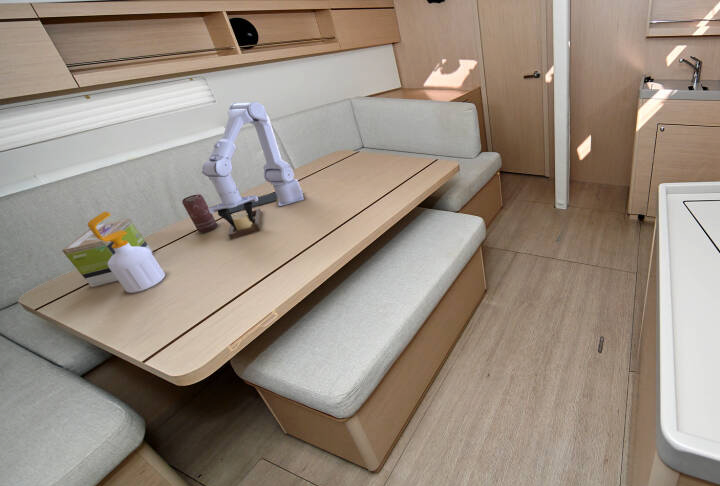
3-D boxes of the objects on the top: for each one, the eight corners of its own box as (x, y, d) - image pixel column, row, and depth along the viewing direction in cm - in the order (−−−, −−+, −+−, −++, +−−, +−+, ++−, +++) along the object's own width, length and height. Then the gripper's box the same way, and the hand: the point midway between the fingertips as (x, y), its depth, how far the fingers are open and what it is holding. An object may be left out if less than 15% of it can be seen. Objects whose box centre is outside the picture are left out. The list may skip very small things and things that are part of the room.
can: (222, 224, 139) (206, 193, 133) (208, 233, 133) (191, 201, 127) (209, 224, 140) (192, 193, 134) (194, 233, 134) (176, 201, 128)
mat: (276, 192, 162) (276, 192, 162) (276, 200, 155) (276, 200, 154) (229, 205, 154) (229, 204, 154) (227, 214, 147) (226, 213, 146)
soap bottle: (171, 276, 110) (128, 209, 100) (134, 296, 103) (83, 226, 92) (157, 270, 114) (114, 205, 103) (120, 289, 107) (70, 220, 96)
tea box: (118, 260, 121) (93, 224, 115) (154, 252, 124) (131, 216, 118) (89, 288, 108) (59, 249, 102) (130, 278, 111) (103, 239, 105)
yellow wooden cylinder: (254, 224, 137) (248, 211, 134) (254, 230, 133) (247, 216, 130) (238, 228, 135) (232, 215, 132) (237, 234, 131) (230, 221, 128)
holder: (261, 212, 146) (259, 208, 145) (259, 230, 132) (257, 226, 131) (235, 219, 142) (233, 215, 141) (230, 239, 128) (228, 234, 127)
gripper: (201, 201, 120) (218, 234, 126) (250, 189, 127) (265, 220, 133) (204, 194, 126) (220, 226, 132) (251, 182, 132) (265, 213, 138)
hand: (243, 223), depth 132 cm, fingers closed on yellow wooden cylinder, 5 cm apart
